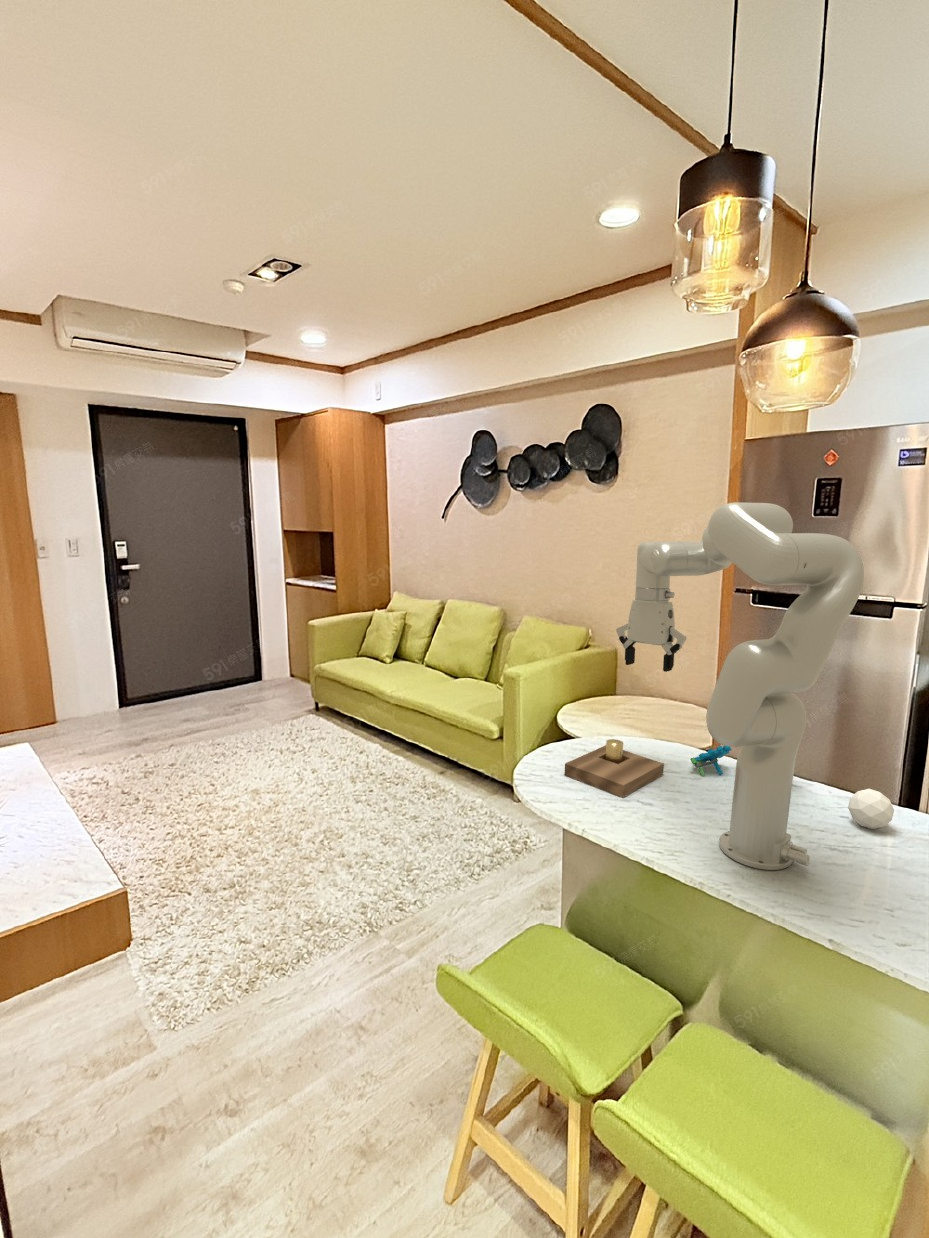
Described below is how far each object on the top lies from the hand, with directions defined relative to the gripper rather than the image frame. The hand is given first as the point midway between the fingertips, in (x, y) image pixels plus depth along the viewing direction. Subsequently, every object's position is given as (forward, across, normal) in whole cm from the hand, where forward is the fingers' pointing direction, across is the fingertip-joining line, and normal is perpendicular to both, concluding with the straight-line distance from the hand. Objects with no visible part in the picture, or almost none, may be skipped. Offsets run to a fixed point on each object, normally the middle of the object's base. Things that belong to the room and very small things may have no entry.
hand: (648, 667), depth 148 cm
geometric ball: (+28, -45, -11) cm, 54 cm away
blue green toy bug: (+27, -10, -14) cm, 32 cm away
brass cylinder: (+26, +7, +3) cm, 27 cm away
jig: (+26, +4, +6) cm, 27 cm away
